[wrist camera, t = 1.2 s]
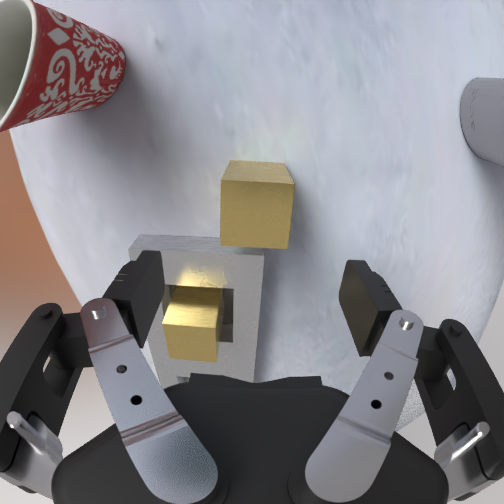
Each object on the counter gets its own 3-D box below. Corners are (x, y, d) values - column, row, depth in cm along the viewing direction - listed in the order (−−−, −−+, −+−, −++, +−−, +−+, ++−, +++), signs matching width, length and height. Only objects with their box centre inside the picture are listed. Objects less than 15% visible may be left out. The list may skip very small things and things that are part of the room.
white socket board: (139, 234, 26) (128, 248, 24) (263, 240, 27) (264, 255, 24) (173, 398, 40) (170, 413, 37) (249, 404, 40) (249, 420, 37)
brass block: (283, 163, 23) (294, 184, 17) (279, 212, 25) (287, 249, 19) (230, 160, 23) (221, 180, 17) (228, 210, 25) (220, 245, 19)
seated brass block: (223, 280, 29) (215, 327, 23) (223, 314, 31) (216, 362, 25) (179, 277, 29) (162, 323, 23) (183, 311, 31) (169, 358, 25)
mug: (130, 12, 16) (39, -36, 4) (143, 98, 20) (40, 102, 9) (29, 66, 17) (-69, 74, 5) (40, 141, 22) (-59, 181, 10)
